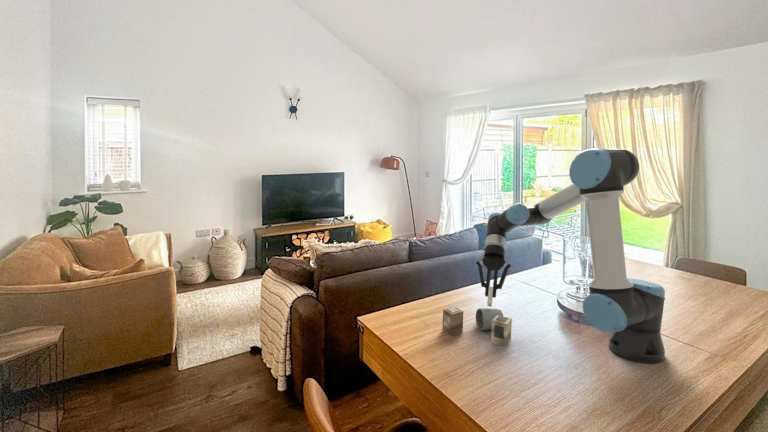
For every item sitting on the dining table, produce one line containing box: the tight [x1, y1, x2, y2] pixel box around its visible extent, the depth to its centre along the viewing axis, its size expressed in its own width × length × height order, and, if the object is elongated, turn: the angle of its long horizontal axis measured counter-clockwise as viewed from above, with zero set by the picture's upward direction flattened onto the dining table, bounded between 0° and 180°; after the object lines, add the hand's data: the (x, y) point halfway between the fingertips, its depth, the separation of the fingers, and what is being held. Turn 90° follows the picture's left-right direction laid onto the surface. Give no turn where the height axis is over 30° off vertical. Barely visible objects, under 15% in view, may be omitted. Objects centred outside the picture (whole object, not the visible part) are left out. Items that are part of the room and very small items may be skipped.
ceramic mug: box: [475, 307, 505, 331], centre depth 144 cm, size 11×8×8 cm
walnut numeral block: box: [441, 306, 464, 337], centre depth 140 cm, size 5×5×8 cm
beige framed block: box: [490, 315, 513, 347], centre depth 132 cm, size 5×5×8 cm
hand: (489, 304), depth 142 cm, fingers closed
